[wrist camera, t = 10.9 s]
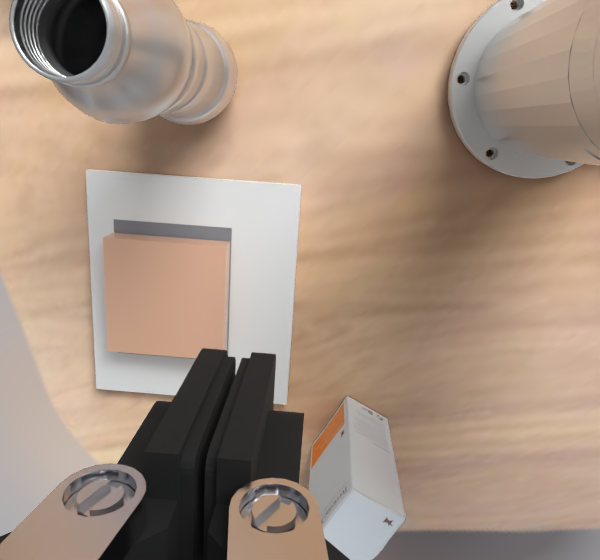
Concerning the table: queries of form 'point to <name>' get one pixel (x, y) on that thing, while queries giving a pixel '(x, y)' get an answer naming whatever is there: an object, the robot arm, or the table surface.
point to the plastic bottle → (127, 58)
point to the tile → (166, 294)
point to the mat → (208, 226)
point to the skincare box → (356, 481)
